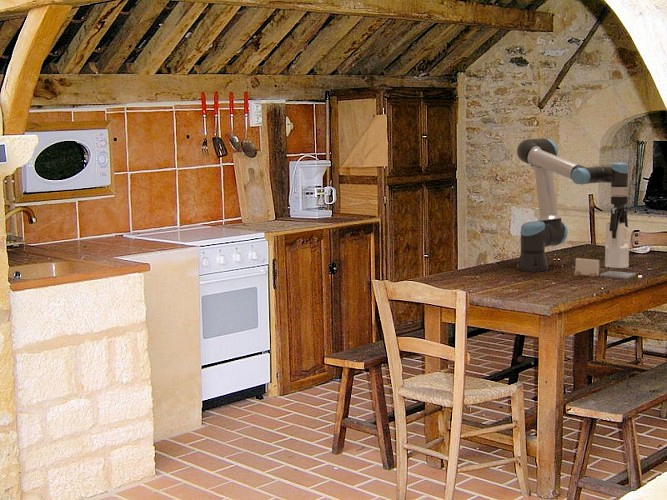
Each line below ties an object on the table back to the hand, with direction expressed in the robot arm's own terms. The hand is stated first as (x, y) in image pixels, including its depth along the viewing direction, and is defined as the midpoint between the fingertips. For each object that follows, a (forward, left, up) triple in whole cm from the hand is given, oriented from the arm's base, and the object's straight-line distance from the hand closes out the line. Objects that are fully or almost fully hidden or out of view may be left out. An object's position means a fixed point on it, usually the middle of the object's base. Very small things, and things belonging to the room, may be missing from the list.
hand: (618, 244), depth 442 cm
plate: (0, 0, -15) cm, 15 cm away
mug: (0, 0, -1) cm, 1 cm away
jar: (-12, +27, -15) cm, 33 cm away
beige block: (-13, -6, -15) cm, 21 cm away
